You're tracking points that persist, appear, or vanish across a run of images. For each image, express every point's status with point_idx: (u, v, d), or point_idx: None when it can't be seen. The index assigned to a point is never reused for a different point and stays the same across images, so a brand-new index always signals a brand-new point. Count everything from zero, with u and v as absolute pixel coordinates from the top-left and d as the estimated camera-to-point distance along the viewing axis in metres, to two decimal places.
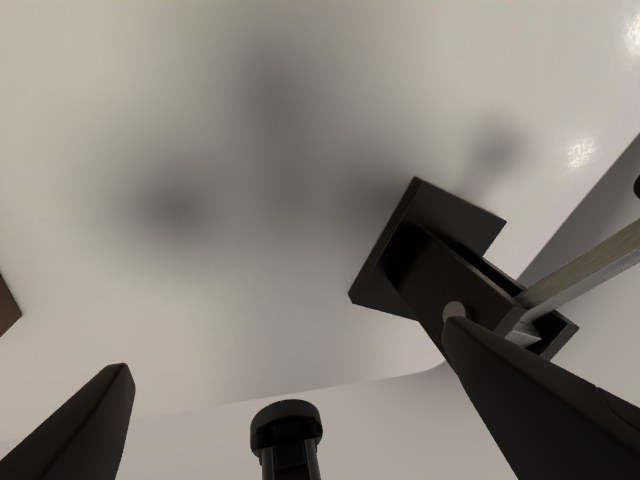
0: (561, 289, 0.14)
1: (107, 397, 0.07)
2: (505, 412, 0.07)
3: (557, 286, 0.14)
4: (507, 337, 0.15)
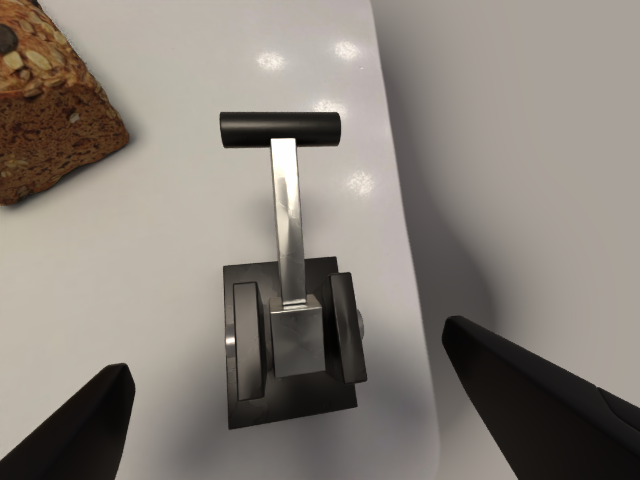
0: (277, 246, 0.13)
1: (107, 397, 0.07)
2: (505, 412, 0.07)
3: (277, 248, 0.13)
4: (278, 325, 0.12)
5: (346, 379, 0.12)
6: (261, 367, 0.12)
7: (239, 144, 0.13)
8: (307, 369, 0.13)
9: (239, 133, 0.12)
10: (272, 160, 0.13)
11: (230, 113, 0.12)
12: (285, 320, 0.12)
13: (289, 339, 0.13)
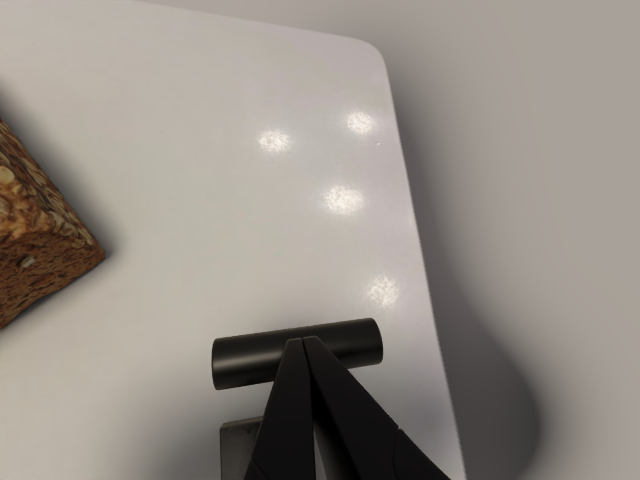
0: None
1: None
2: (326, 450, 0.07)
3: None
4: None
5: None
6: None
7: (240, 386, 0.09)
8: None
9: (240, 379, 0.09)
10: None
11: (226, 349, 0.09)
12: None
13: None
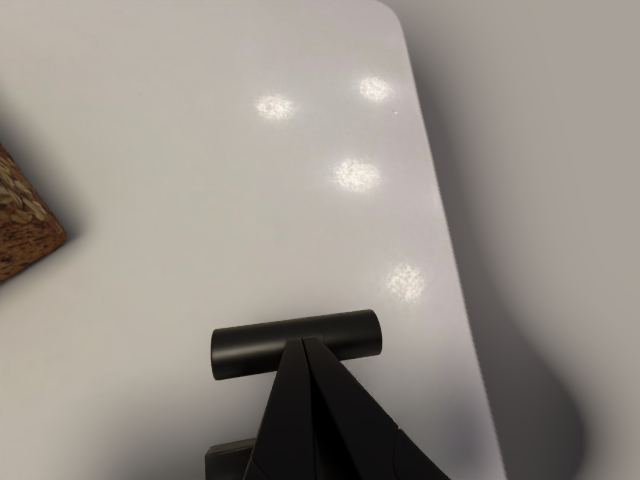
0: None
1: None
2: (326, 450, 0.07)
3: None
4: None
5: None
6: None
7: (237, 374, 0.09)
8: None
9: (238, 360, 0.09)
10: None
11: (226, 332, 0.09)
12: None
13: None
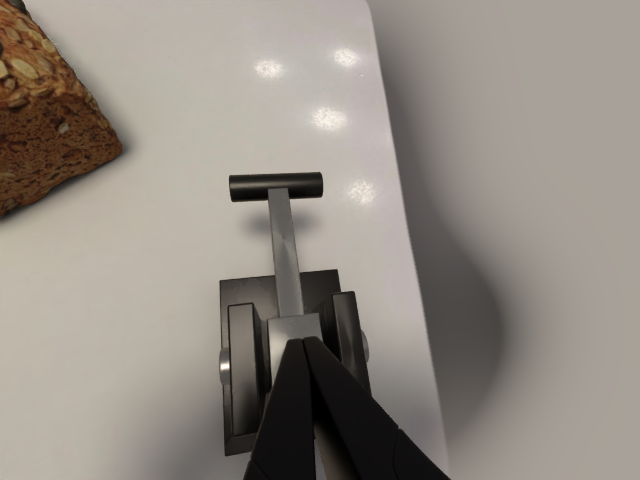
0: (274, 266, 0.14)
1: None
2: (327, 450, 0.07)
3: (274, 270, 0.14)
4: (275, 332, 0.12)
5: None
6: (258, 398, 0.11)
7: (243, 195, 0.16)
8: None
9: (243, 185, 0.16)
10: (269, 202, 0.16)
11: (237, 175, 0.17)
12: (282, 327, 0.12)
13: None
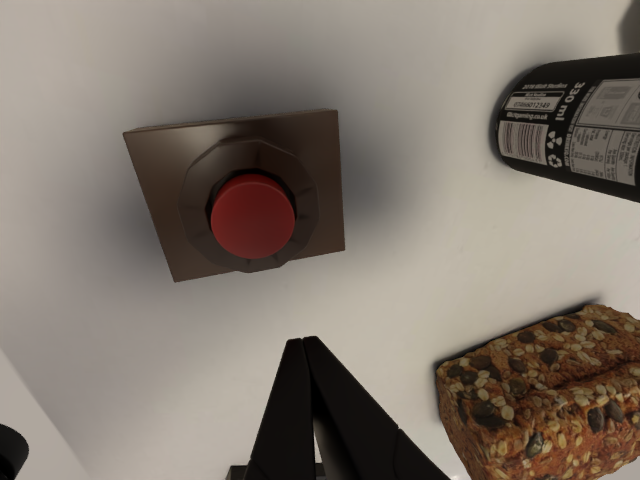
0: None
1: None
2: (327, 450, 0.07)
3: None
4: None
5: None
6: None
7: None
8: None
9: None
10: None
11: None
12: None
13: None
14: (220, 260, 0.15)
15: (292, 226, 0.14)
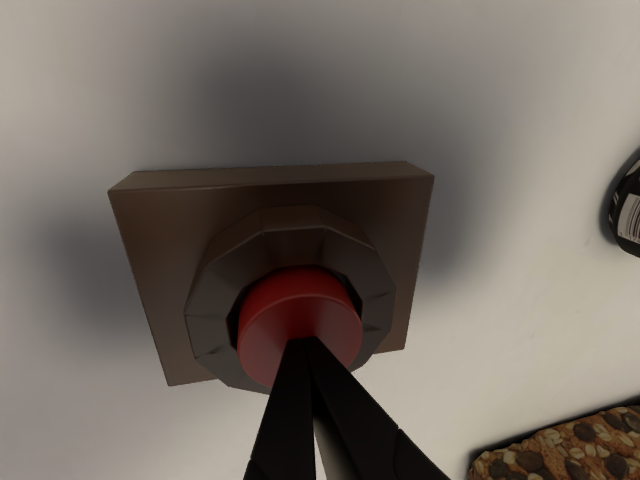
0: None
1: None
2: (327, 450, 0.07)
3: None
4: None
5: None
6: None
7: None
8: None
9: None
10: None
11: None
12: None
13: None
14: (240, 382, 0.10)
15: (357, 350, 0.09)
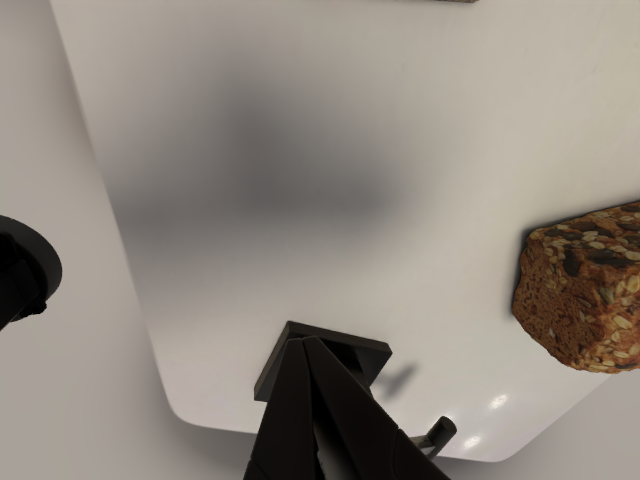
0: None
1: None
2: (326, 450, 0.07)
3: None
4: None
5: None
6: None
7: (441, 433, 0.24)
8: None
9: (446, 438, 0.24)
10: (427, 448, 0.24)
11: None
12: None
13: None
14: None
15: None
